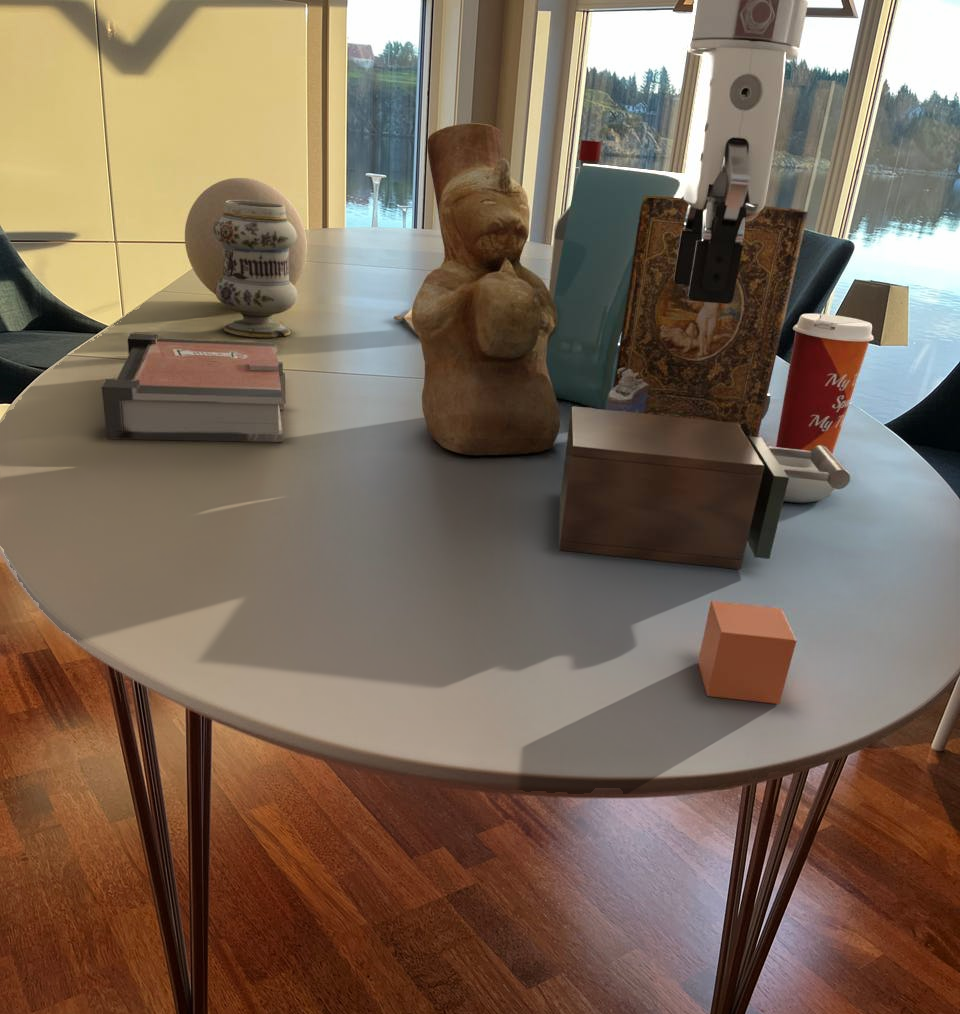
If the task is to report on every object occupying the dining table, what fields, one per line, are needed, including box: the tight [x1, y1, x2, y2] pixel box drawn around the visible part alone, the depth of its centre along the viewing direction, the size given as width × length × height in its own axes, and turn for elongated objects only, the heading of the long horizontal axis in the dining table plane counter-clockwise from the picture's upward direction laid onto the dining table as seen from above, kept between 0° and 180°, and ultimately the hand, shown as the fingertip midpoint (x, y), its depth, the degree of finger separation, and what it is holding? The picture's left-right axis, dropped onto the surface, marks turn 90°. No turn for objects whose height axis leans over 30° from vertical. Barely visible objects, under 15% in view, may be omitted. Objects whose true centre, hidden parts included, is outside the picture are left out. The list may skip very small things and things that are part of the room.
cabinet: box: [558, 405, 764, 570], centre depth 79 cm, size 15×13×9 cm
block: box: [697, 600, 797, 705], centre depth 58 cm, size 4×4×4 cm
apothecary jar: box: [214, 200, 298, 339], centre depth 140 cm, size 12×12×18 cm
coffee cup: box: [775, 313, 875, 455], centre depth 102 cm, size 8×8×15 cm
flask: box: [606, 367, 649, 413], centre depth 91 cm, size 9×3×11 cm, turn 158°
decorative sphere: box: [184, 177, 308, 296], centre depth 159 cm, size 20×20×20 cm
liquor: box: [547, 139, 603, 300], centre depth 168 cm, size 9×9×30 cm
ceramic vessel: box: [411, 122, 561, 456], centre depth 98 cm, size 16×22×30 cm
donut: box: [774, 455, 835, 504], centre depth 94 cm, size 10×4×10 cm
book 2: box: [613, 195, 809, 439], centre depth 100 cm, size 16×6×25 cm, turn 82°
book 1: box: [101, 332, 286, 443], centre depth 103 cm, size 26×18×5 cm
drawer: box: [747, 436, 851, 560], centre depth 79 cm, size 19×11×7 cm, turn 85°
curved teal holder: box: [546, 164, 772, 420], centre depth 116 cm, size 26×28×28 cm
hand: (700, 292), depth 73 cm, fingers open, 9 cm apart
